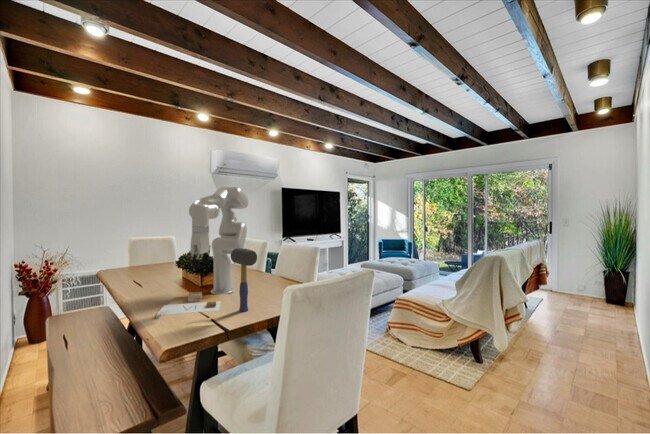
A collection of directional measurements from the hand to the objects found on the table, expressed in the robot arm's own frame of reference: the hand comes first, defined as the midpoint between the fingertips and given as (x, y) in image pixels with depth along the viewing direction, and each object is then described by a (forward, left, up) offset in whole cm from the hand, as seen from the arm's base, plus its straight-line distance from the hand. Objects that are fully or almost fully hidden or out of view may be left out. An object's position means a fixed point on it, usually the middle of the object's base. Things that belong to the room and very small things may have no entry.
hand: (201, 265), depth 145 cm
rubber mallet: (+13, +20, -21) cm, 32 cm away
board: (+3, -4, -21) cm, 21 cm away
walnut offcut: (+3, +5, -19) cm, 20 cm away
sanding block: (-9, -4, -21) cm, 23 cm away
